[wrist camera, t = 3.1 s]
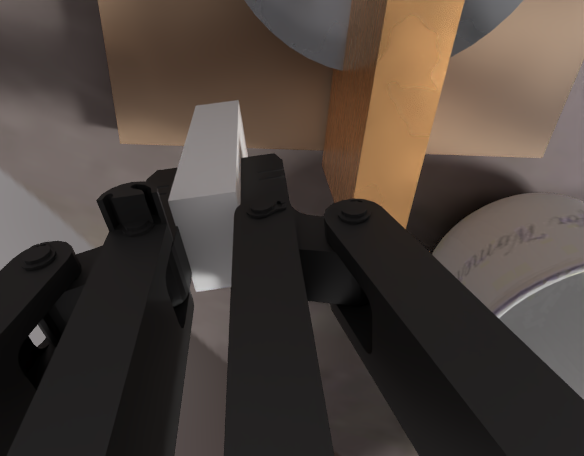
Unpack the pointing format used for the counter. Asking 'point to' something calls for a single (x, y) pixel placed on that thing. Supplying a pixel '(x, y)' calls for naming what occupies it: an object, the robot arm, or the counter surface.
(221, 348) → the counter surface
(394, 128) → the dial
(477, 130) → the board
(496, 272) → the teacup
